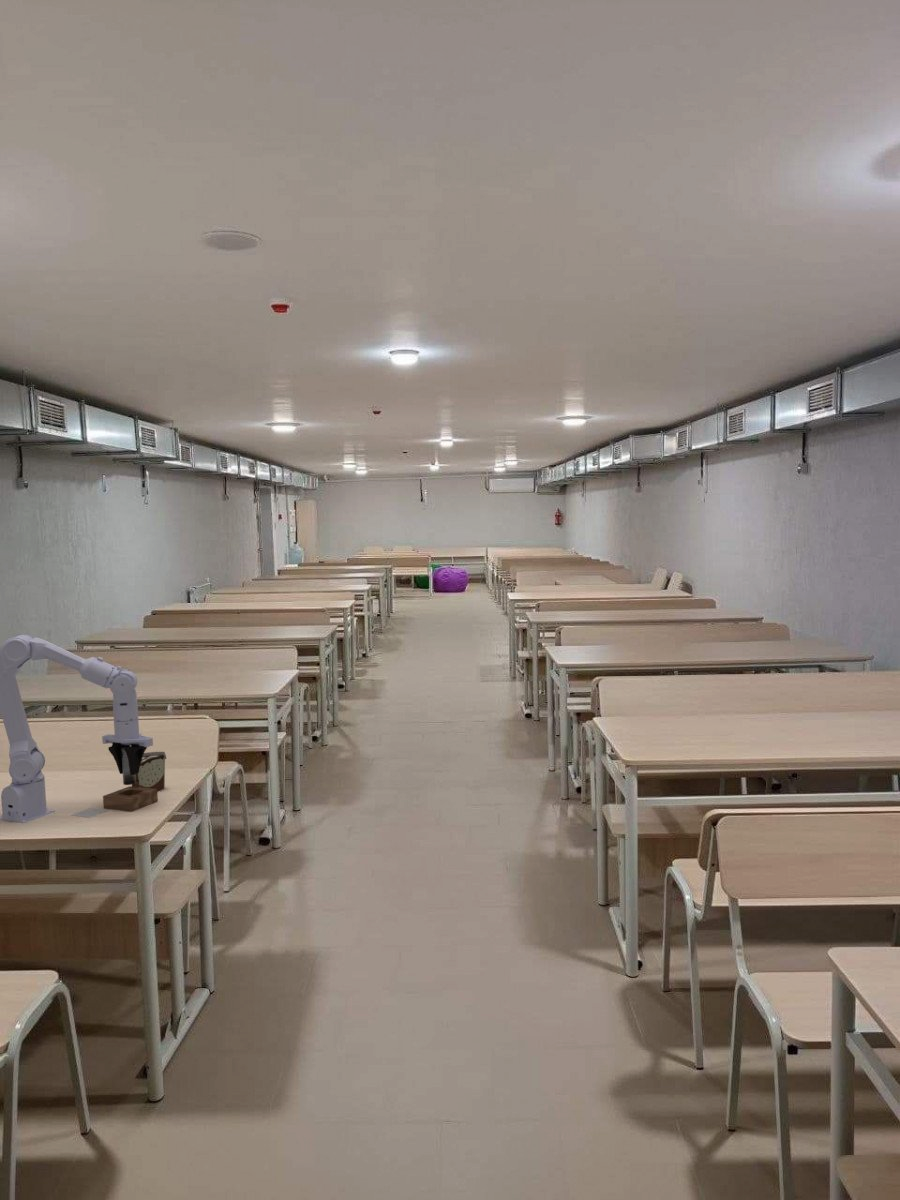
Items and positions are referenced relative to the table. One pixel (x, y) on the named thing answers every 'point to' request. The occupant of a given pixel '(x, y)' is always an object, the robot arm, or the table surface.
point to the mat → (89, 813)
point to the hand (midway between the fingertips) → (129, 773)
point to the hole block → (130, 798)
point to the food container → (151, 771)
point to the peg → (127, 769)
